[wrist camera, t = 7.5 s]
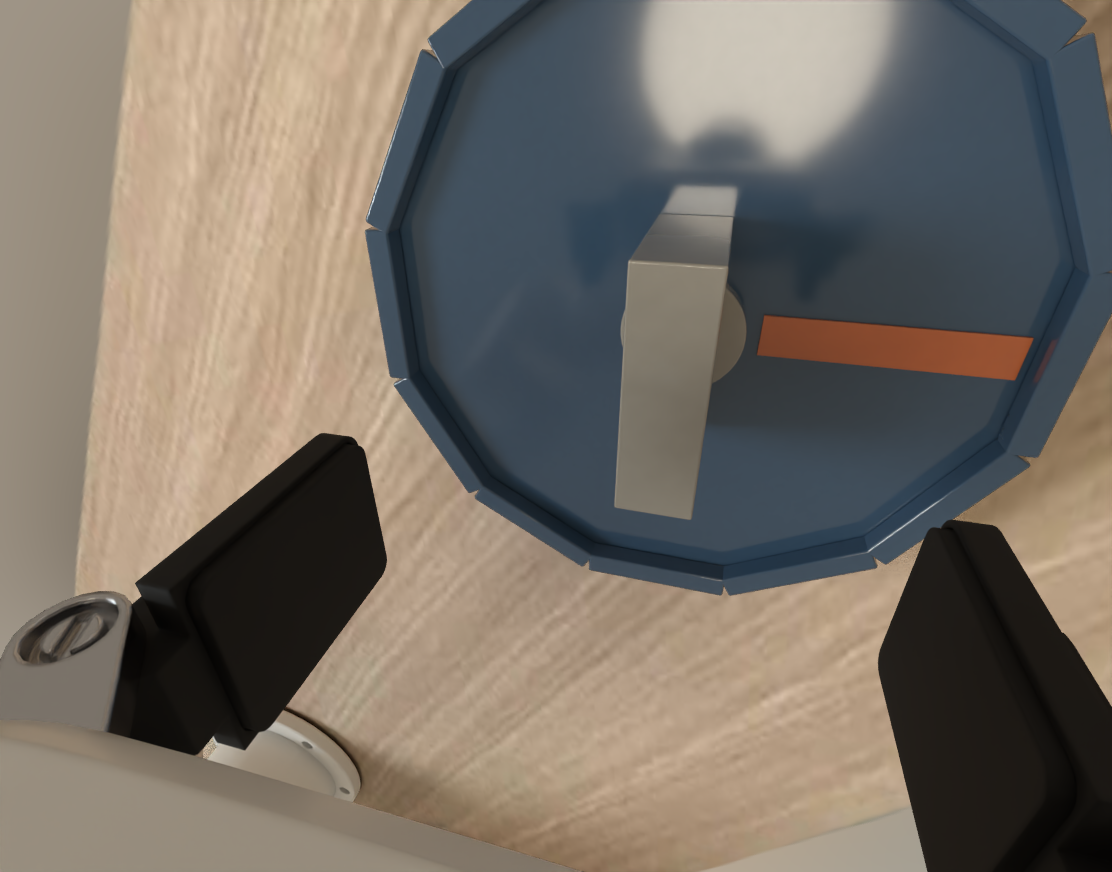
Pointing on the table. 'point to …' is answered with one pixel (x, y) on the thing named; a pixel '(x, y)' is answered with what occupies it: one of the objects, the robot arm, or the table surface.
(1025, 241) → the blue rotary dial
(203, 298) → the table surface
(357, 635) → the table surface
